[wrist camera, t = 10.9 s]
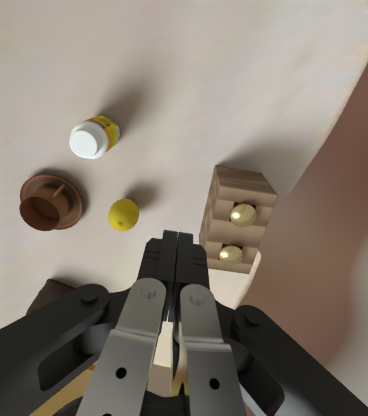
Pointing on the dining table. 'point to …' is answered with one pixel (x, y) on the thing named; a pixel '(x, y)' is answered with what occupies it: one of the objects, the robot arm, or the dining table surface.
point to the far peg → (230, 254)
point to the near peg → (242, 214)
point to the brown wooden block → (221, 222)
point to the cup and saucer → (49, 203)
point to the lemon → (123, 215)
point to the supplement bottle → (94, 137)
